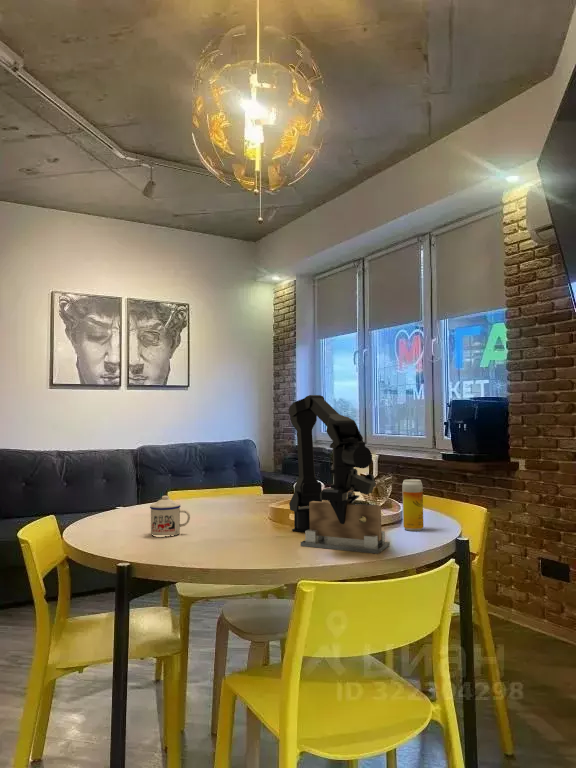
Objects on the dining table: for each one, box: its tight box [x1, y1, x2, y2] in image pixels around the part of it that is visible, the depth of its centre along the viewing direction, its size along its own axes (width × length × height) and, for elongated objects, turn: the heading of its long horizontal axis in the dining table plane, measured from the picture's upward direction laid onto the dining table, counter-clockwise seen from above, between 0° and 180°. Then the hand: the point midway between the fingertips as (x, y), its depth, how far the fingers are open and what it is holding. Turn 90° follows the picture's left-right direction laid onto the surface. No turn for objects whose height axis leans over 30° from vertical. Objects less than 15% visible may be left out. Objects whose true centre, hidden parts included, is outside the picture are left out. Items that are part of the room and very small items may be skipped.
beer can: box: [401, 478, 424, 532], centre depth 182 cm, size 6×6×15 cm
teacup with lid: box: [149, 495, 191, 536], centre depth 179 cm, size 12×9×12 cm
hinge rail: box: [300, 529, 391, 554], centre depth 161 cm, size 22×10×4 cm, turn 63°
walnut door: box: [309, 501, 382, 541], centre depth 160 cm, size 20×3×9 cm, turn 63°
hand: (344, 522), depth 161 cm, fingers closed on walnut door, 2 cm apart
